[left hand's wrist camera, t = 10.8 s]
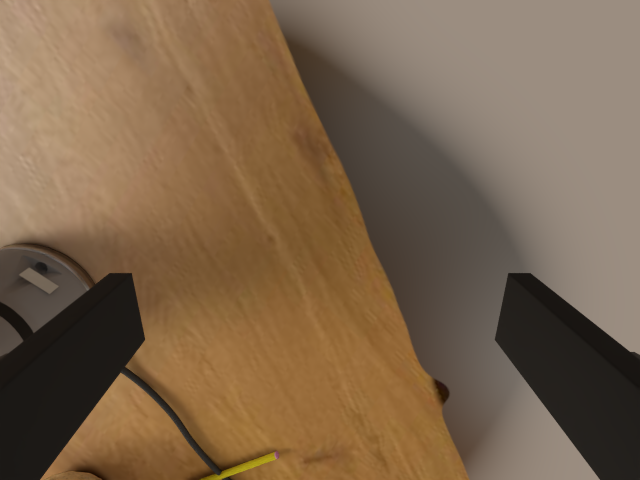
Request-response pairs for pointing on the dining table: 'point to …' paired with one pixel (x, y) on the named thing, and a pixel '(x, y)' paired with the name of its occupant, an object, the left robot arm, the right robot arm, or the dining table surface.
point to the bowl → (74, 476)
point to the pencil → (243, 466)
